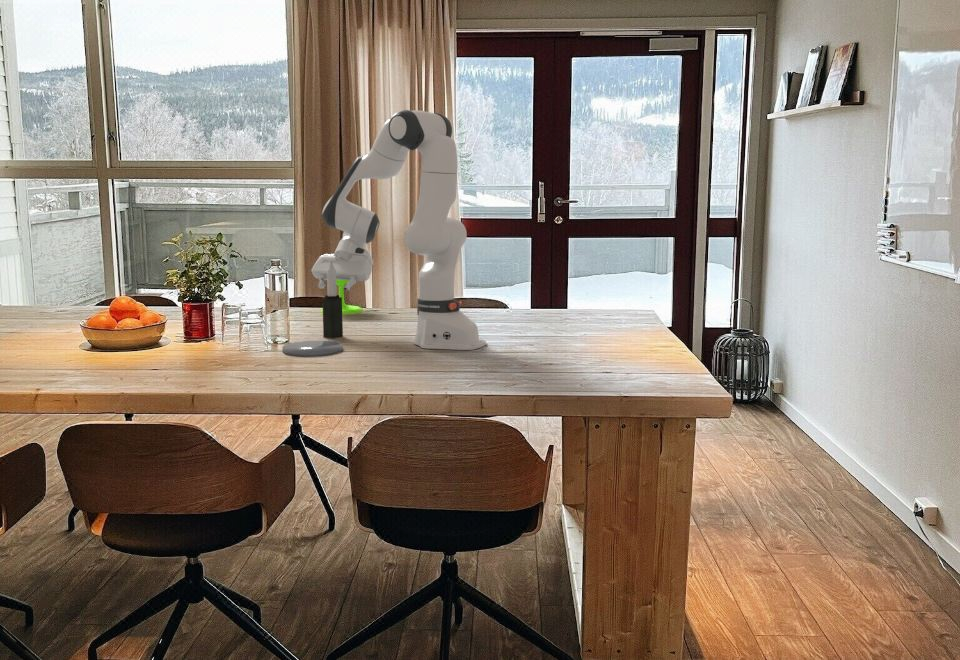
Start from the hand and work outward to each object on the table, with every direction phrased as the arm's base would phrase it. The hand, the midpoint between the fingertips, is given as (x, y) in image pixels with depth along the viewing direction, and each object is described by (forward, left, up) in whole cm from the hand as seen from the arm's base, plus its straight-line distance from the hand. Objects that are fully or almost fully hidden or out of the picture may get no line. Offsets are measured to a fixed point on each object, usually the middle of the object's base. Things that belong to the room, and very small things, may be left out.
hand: (333, 288), depth 299 cm
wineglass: (+24, -46, -16) cm, 54 cm away
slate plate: (-6, +23, -16) cm, 28 cm away
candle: (0, +1, -16) cm, 16 cm away
